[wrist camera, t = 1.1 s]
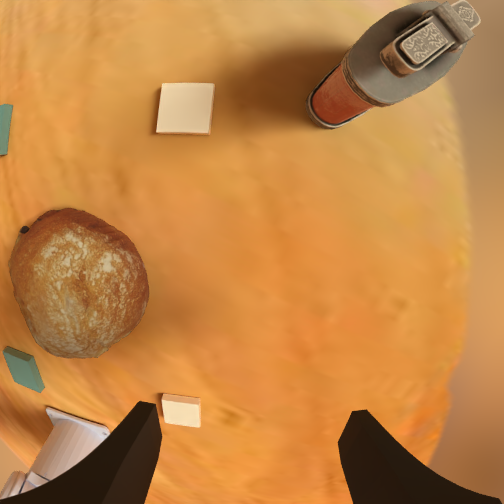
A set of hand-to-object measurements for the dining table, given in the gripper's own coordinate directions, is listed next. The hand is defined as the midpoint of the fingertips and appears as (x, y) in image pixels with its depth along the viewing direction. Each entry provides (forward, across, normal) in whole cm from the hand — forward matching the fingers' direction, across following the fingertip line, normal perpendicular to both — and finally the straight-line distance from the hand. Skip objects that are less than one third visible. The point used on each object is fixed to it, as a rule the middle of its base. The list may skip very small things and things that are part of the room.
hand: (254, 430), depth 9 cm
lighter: (+10, -5, -15) cm, 19 cm away
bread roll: (+10, +12, -1) cm, 16 cm away
